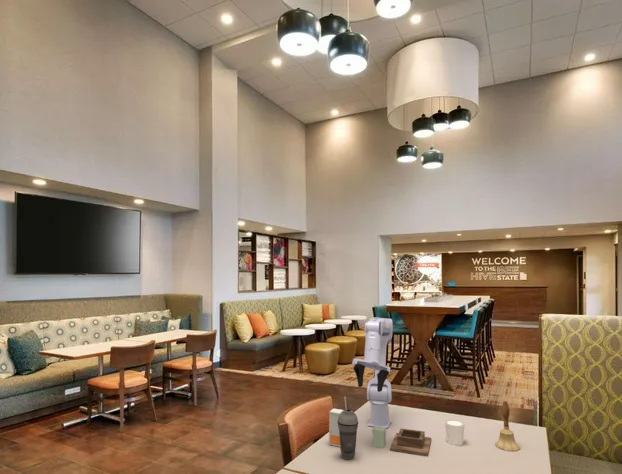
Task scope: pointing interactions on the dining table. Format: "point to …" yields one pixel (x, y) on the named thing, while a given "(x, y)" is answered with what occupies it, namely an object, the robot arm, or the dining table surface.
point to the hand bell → (506, 433)
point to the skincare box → (334, 427)
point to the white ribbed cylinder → (454, 432)
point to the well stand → (411, 442)
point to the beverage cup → (347, 432)
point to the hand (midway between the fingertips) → (370, 388)
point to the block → (379, 436)
